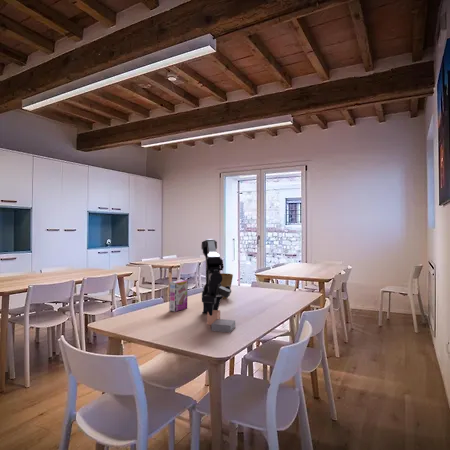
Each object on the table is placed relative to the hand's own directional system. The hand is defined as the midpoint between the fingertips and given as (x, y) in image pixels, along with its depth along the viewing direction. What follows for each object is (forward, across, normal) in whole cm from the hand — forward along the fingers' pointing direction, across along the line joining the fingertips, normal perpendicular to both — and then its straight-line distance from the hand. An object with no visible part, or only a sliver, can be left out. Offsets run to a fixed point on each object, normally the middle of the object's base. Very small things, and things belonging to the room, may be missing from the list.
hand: (213, 313), depth 163 cm
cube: (+5, 0, 0) cm, 5 cm away
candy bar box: (+5, +21, +28) cm, 35 cm away
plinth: (+5, -7, -7) cm, 11 cm away
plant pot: (+5, +58, +13) cm, 60 cm away
